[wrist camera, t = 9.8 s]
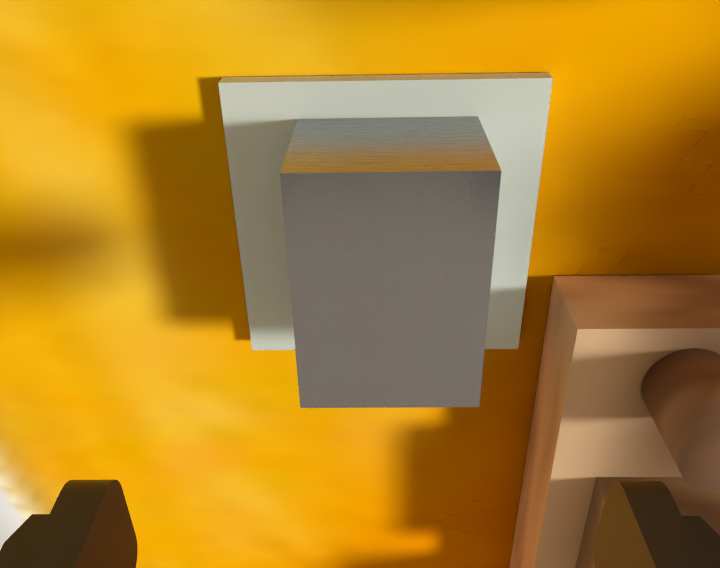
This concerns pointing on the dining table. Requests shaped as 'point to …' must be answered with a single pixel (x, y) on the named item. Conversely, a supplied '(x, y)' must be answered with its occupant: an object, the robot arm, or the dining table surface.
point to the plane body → (620, 408)
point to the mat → (379, 100)
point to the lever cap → (390, 259)
